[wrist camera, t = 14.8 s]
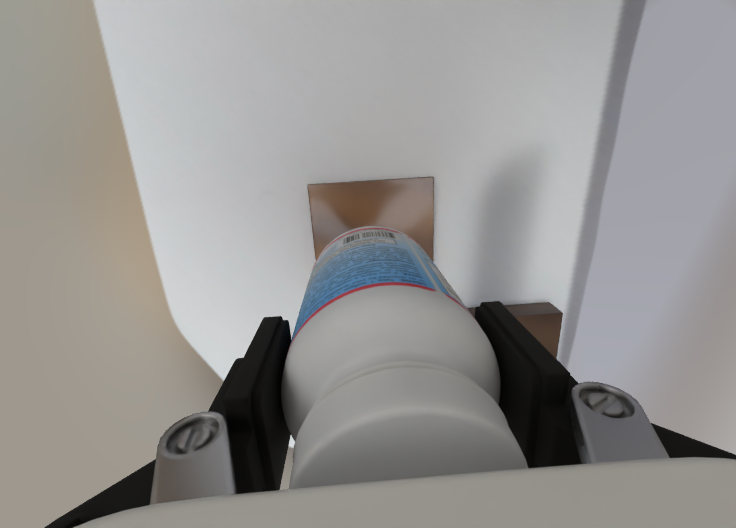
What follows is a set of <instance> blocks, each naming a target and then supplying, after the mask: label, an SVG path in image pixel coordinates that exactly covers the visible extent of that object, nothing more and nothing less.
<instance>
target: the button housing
mask: <svg viewBox="0 0 736 528" xmlns="http://www.w3.org/2000/svg"><path fill="white" fill-rule="evenodd" d="M505 307H506V308H507V309H508V310H509V311H510V313H511V314H512V315H513V316H514V317H515V318H516V319H517V320H518V321H519V322H520V323H521V324H522V325H523V326H524V327H525V328H526V329H527V330H528V331H529V332H530V333H531V334H532V335H533V336H534V337H535V338H536V339H537V340H538V341H539V342H540V343H541V344H542V345H543V346H544V347H545V348H546V349H547V350H548V351H549V352H550V353H551V354H552V355H553V356H554V357H555V358H556V357H557V350H558V343H559V336H560V329H561V322H562V315H563V313H562V312H561V311H560V310H558V309H557V308H556V307H555V306H553V305H552V304H551V303H549V302H547V303H533V304H520V305H507V306H505ZM467 309H468V310H469V312H470V313H471V314H472V316H473V317H474V318H475V309H476V308H467Z"/></svg>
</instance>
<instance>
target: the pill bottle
mask: <svg viewBox="0 0 736 528" xmlns="http://www.w3.org/2000/svg"><path fill="white" fill-rule="evenodd" d="M499 399H500V371H499V366H498V362H497V358H496V355H495V352H494V350H493V348H492V345H491V343H490V341H489V340H488V338H487V336H486V334H485V333H484V332H483V330H482V329H481V327H480V325H479V324H478V322H477V321H476V320H475V318H474V317H473V316H472V314H471V313H470V312H469V310H468V309H467V307H466V306H465V305H464V304H463V302H462V301H461V299H460V298H459V297H458V295H457V294H456V293H455V291H454V290H453V289H452V287H451V286H450V285H449V283H448V282H447V280H446V279H445V278H444V276H443V275H442V274H441V272H440V271H439V270H438V268H437V267H436V266H435V264H434V263H433V261H432V260H431V259H430V257H429V256H428V255H427V253H426V252H425V251H424V250H423V248H422V247H421V246H420V245H419V244H418V243H417V242H416V241H414V240H413V239H412V238H411V237H409V236H408V235H406V234H404V233H402V232H400V231H397V230H395V229H391V228H387V227H382V226H366V227H360V228H356V229H353V230H350V231H347V232H345V233H343V234H341V235H340V236H338V237H336V238H335V239H334V240H332V241H331V242H330V243H329V244H328V245H327V246H326V247H325V248H324V249H323V251H322V252H321V253H320V255H319V257H318V258H317V260H316V262H315V265H314V267H313V270H312V273H311V276H310V279H309V282H308V285H307V289H306V292H305V295H304V299H303V302H302V305H301V309H300V312H299V316H298V319H297V323H296V326H295V330H294V333H293V337H292V340H291V343H290V347H289V350H288V353H287V357H286V360H285V366H284V370H283V376H282V382H281V402H282V409H283V413H284V418H285V421H286V424H287V426H288V429H289V431H290V433H291V435H292V437H293V439H294V440H295V445H294V451H293V467H292V473H291V479H290V485H289V489H298V488H309V487H320V486H330V485H341V484H352V483H363V482H374V481H385V480H397V479H408V478H420V477H431V476H443V475H455V474H466V473H478V472H490V471H502V470H515V469H527V468H528V466H527V462H526V459H525V457H524V455H523V453H522V450H521V448H520V446H519V445H518V443H517V441H516V439H515V437H514V435H513V434H512V432H511V430H510V428H509V426H508V423H507V420H506V418H505V416H504V414H503V412H502V410H501V409H500V407H499V406H498V404H499Z"/></svg>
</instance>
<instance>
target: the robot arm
mask: <svg viewBox="0 0 736 528" xmlns="http://www.w3.org/2000/svg"><path fill="white" fill-rule="evenodd" d="M475 320H476V321H477V322H478V324H479V325H480V327H481V329H482V330H483V332H484V333H485V334H486V336H487V338H488V340H489V341H490V343H491V345H492V348H493V350H494V352H495V355H496V358H497V362H498V366H499V371H500V399H499V404H498V406H499V407H500V409H501V410H502V412H503V414H504V416H505V418H506V420H507V423H508V426H509V428H510V430H511V432H512V434H513V435H514V437H515V439H516V441H517V443H518V445H519V446H520V448H521V450H522V453H523V455H524V457H525V459H526V462H527V466H528V468H527V469H515V470H502V471H490V472H478V473H466V474H455V475H443V476H431V477H420V478H408V479H397V480H385V481H374V482H363V483H352V484H341V485H330V486H320V487H309V488H298V489H287V490H279V489H280V484H281V479H282V474H283V469H284V464H285V460H286V454H287V450H288V445H289V440H290V435H291V433H290V431H289V429H288V426H287V424H286V421H285V418H284V413H283V409H282V402H281V382H282V376H283V370H284V366H285V360H286V357H287V353H288V350H289V347H290V343H291V334H290V327H289V322H288V320H283V319H282V317H281V316H278V317H264V318H263V320H262V322H261V324H260V326H259V328H258V330H257V332H256V334H255V336H254V338H253V340H252V342H251V344H250V346H249V348H248V350H247V352H246V354H245V356H244V358H238V359H236V360H235V362H234V364H233V365H232V367H231V369H230V371H229V373H228V375H227V377H226V379H225V380H224V382H223V384H222V386H221V388H220V390H219V392H218V394H217V395H216V397H215V399H214V401H213V403H212V405H211V407H210V409H209V411H208V412H200V413H195V414H192V415H190V416H187V417H185V418H183V419H181V420H180V421H178V422H176V423H175V424H173V425H172V426H171V427H170V428H169V429H168V430H166V432H165V433H164V434H163V436H162V437H161V438H160V441H159V444H158V448H157V455H156V459H155V460H154V461H152V462H150V463H149V464H147V465H145V466H144V467H142V468H141V469H139V470H137V471H136V472H134V473H132V474H131V475H129V476H127V477H126V478H124V479H122V480H121V481H119V482H117V483H116V484H114V485H112V486H111V487H109V488H108V489H106V490H104V491H103V492H101V493H100V494H98V495H96V496H94V497H93V498H91V499H89V500H88V501H86V502H84V503H83V504H82V505H80V506H78V507H76V508H75V509H73V510H71V511H70V512H68V513H66V514H65V515H63V516H61V517H60V518H58V519H57V520H55V521H54V522H52V523H51V524H49V525H48V526H46V527H45V528H736V455H735V454H732V453H729V452H726V451H724V450H721V449H718V448H716V447H713V446H711V445H708V444H705V443H702V442H700V441H697V440H695V439H691V438H689V437H686V436H684V435H681V434H679V433H676V432H673V431H671V430H668V429H665V428H662V427H660V426H657V425H655V424H652V423H650V421H649V419H648V417H647V416H646V414H645V412H644V410H643V408H642V407H641V405H640V404H639V403H638V401H637V400H636V399H634V398H633V397H632V396H631V395H629V394H628V393H626V392H624V391H622V390H620V389H619V388H616V387H613V386H610V385H607V384H603V383H598V382H584V383H578V382H577V381H575V379H574V378H573V377H572V376H570V373H569V372H568V371H567V370H566V369H565V368H564V367H563V366H562V364H561V363H560V362H559V361H558V360H557V359H556V358H555V357H554V356H553V355H552V354H551V353H550V352H549V351H548V350H547V349H546V348H545V347H544V346H543V345H542V344H541V343H540V342H539V341H538V340H537V339H536V338H535V337H534V336H533V335H532V334H531V333H530V332H529V331H528V330H527V329H526V328H525V327H524V326H523V325H522V324H521V323H520V322H519V321H518V320H517V319H516V318H515V317H514V316H513V315H512V314H511V313H510V311H509V310H508V309H507V308H506V307H505V306H504V305H503V304H502V303H501V302H499V301H495V302H482V303H481V305H480V307H476V309H475Z"/></svg>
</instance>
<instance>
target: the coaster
mask: <svg viewBox="0 0 736 528" xmlns="http://www.w3.org/2000/svg"><path fill="white" fill-rule="evenodd" d="M308 193H309V202H310V211H311V220H312V229H313V238H314V248H315V257H316V260H317V258H318V257H319V255H320V253H321V252H322V251H323V249H324V248H325V247H326V246H327V245H328V244H329V243H330V242H331V241H332V240H334V239H335V238H336V237H338V236H340V235H341V234H343V233H345V232H347V231H350V230H353V229H356V228H360V227H366V226H382V227H387V228H391V229H395V230H397V231H400V232H402V233H404V234H406V235H408V236H409V237H411V238H412V239H413V240H414V241H416V242H417V243H418V244H419V245H420V246H421V247H422V248H423V250H424V251H425V252H426V253H427V255H428V256H429V257H430V259H431V260H432V261H433V200H434V177H419V178H403V179H387V180H371V181H355V182H339V183H323V184H308Z"/></svg>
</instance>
